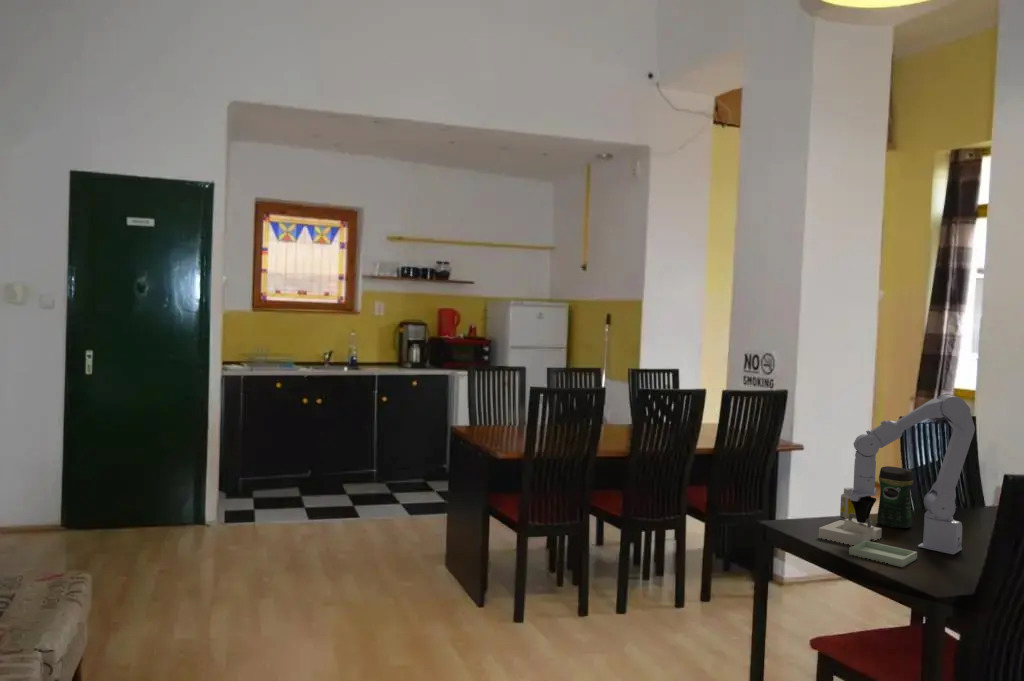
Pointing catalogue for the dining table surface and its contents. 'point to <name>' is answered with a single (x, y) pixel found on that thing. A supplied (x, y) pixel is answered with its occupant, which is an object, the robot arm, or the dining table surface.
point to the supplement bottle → (846, 505)
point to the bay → (845, 534)
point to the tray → (883, 553)
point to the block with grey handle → (858, 526)
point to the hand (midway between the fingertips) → (862, 522)
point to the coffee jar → (895, 497)
